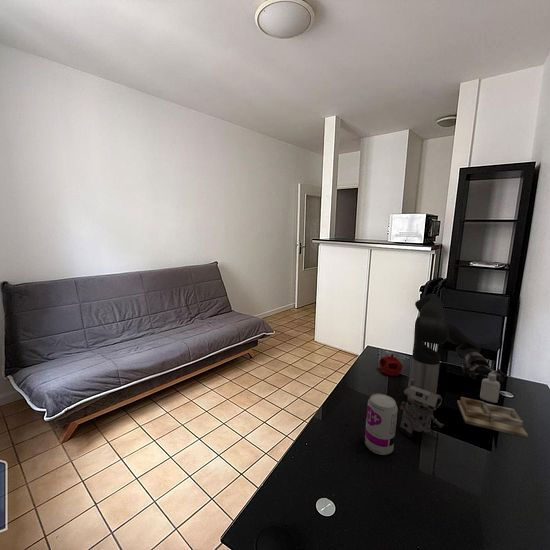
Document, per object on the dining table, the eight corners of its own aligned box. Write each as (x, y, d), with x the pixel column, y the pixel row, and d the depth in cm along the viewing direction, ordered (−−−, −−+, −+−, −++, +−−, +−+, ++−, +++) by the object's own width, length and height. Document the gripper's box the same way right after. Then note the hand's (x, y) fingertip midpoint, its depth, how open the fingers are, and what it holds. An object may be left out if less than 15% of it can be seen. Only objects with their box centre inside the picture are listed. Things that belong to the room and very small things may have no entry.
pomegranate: (385, 366, 139) (387, 347, 137) (405, 374, 131) (407, 354, 130) (374, 371, 132) (376, 352, 131) (395, 380, 125) (397, 360, 123)
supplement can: (375, 459, 81) (379, 410, 79) (359, 438, 89) (362, 394, 86) (399, 454, 83) (404, 406, 81) (381, 434, 91) (386, 390, 89)
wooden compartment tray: (465, 423, 98) (466, 415, 97) (457, 402, 110) (458, 395, 109) (527, 437, 91) (528, 429, 91) (511, 414, 103) (512, 406, 103)
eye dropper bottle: (493, 405, 109) (498, 375, 107) (477, 397, 114) (481, 369, 112) (499, 402, 111) (504, 373, 109) (483, 394, 116) (487, 366, 114)
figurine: (426, 451, 85) (432, 404, 82) (395, 427, 95) (399, 385, 92) (446, 441, 89) (452, 397, 86) (413, 419, 99) (418, 379, 96)
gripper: (459, 352, 132) (468, 367, 117) (497, 358, 126) (511, 374, 112) (457, 367, 133) (465, 384, 118) (494, 374, 128) (508, 392, 113)
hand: (487, 379), depth 115 cm, fingers open, 8 cm apart
